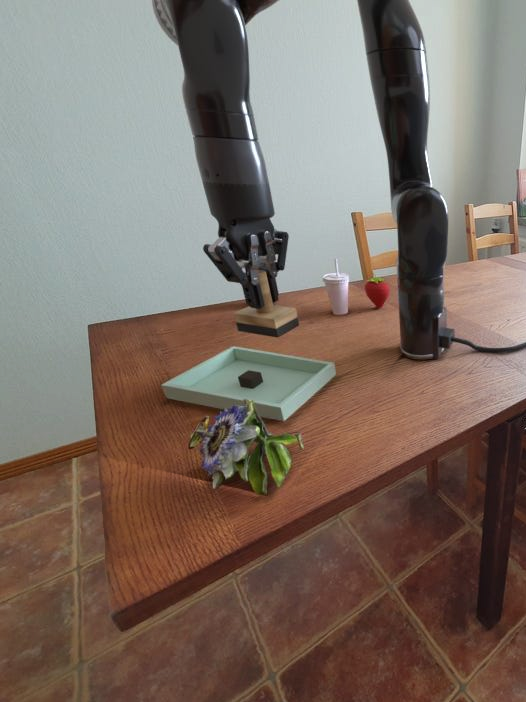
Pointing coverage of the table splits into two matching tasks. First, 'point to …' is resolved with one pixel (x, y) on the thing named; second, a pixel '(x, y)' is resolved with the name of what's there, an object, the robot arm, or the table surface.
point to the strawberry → (377, 291)
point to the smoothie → (337, 290)
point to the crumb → (250, 379)
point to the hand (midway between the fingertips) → (264, 303)
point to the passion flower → (243, 447)
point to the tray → (269, 397)
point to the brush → (266, 315)
